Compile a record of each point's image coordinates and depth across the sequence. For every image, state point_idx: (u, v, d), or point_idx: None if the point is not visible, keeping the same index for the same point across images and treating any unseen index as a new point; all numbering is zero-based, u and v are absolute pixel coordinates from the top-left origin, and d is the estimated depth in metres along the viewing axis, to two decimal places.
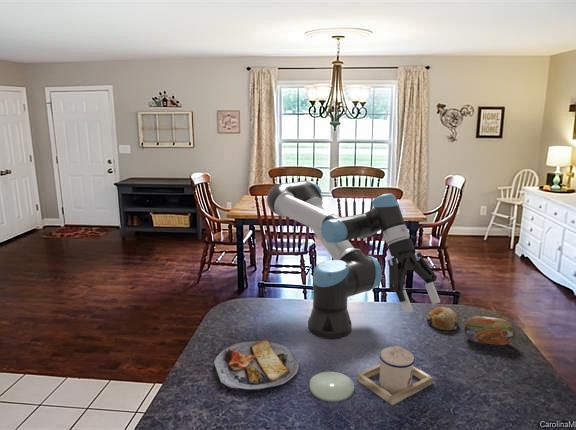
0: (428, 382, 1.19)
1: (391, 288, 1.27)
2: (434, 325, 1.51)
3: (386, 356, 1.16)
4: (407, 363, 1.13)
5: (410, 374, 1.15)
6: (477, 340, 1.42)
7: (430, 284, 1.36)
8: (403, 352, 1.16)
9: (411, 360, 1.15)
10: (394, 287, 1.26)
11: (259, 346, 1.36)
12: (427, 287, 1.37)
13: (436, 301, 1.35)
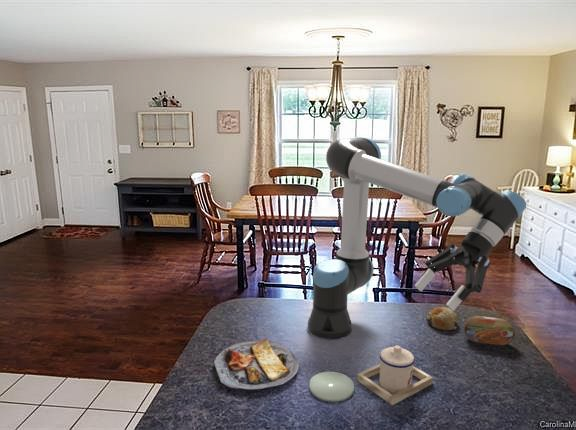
0: (428, 382, 1.19)
1: (477, 288, 1.10)
2: (434, 325, 1.51)
3: (386, 356, 1.16)
4: (407, 363, 1.13)
5: (410, 374, 1.15)
6: (477, 340, 1.42)
7: (433, 274, 1.25)
8: (403, 352, 1.16)
9: (411, 360, 1.15)
10: (479, 290, 1.10)
11: (259, 346, 1.36)
12: (429, 273, 1.25)
13: (420, 288, 1.25)
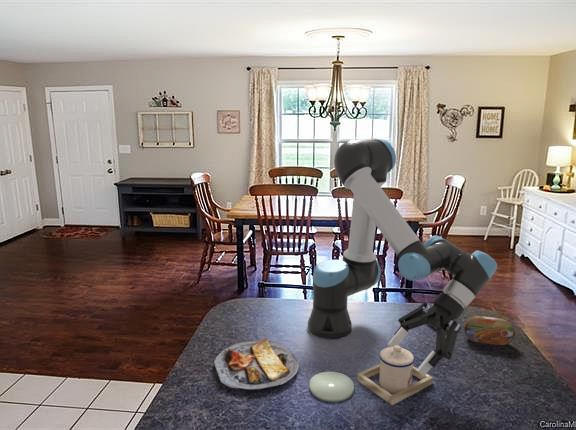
0: (428, 382, 1.19)
1: (447, 355, 1.10)
2: None
3: (386, 356, 1.16)
4: (407, 363, 1.14)
5: (410, 374, 1.15)
6: (477, 340, 1.42)
7: (405, 333, 1.25)
8: (403, 352, 1.16)
9: (411, 360, 1.15)
10: (449, 357, 1.10)
11: (259, 346, 1.36)
12: (402, 332, 1.25)
13: None
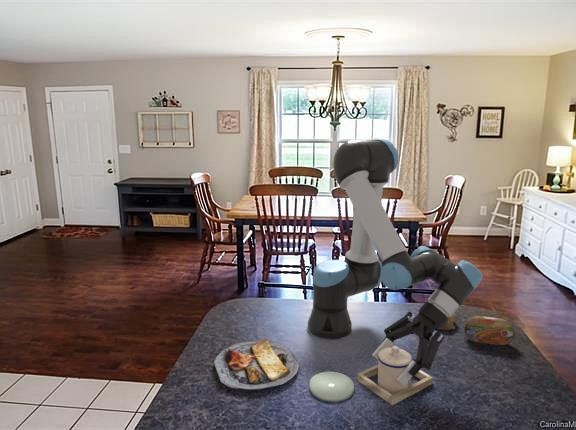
0: (428, 382, 1.19)
1: (426, 365, 1.10)
2: None
3: (386, 358, 1.15)
4: (407, 362, 1.14)
5: None
6: (477, 340, 1.42)
7: (390, 343, 1.25)
8: (401, 352, 1.16)
9: (410, 359, 1.15)
10: (429, 368, 1.11)
11: (259, 346, 1.36)
12: (387, 343, 1.24)
13: None
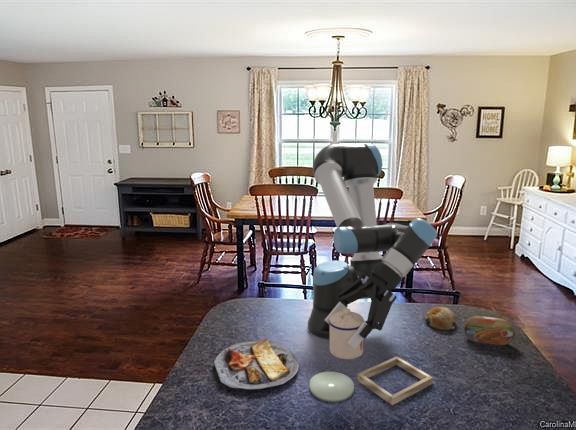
0: (428, 382, 1.19)
1: (377, 326, 1.05)
2: (432, 325, 1.51)
3: (336, 321, 1.09)
4: (358, 324, 1.08)
5: None
6: (477, 340, 1.42)
7: None
8: (352, 314, 1.10)
9: (362, 321, 1.09)
10: (380, 328, 1.05)
11: (259, 346, 1.36)
12: (340, 307, 1.18)
13: None
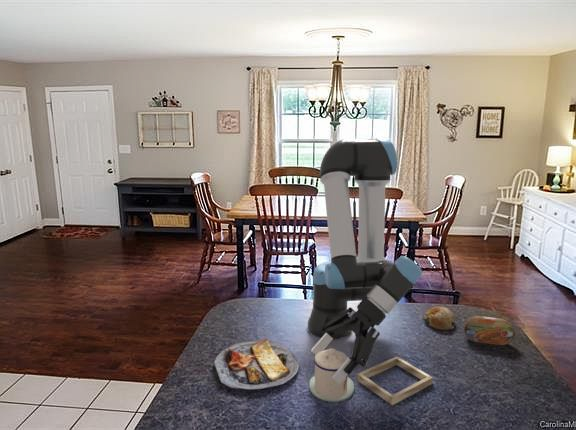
0: (428, 382, 1.19)
1: (361, 362, 1.07)
2: (431, 325, 1.51)
3: (321, 360, 1.12)
4: None
5: None
6: (477, 340, 1.42)
7: (330, 339, 1.22)
8: (337, 354, 1.13)
9: None
10: (364, 365, 1.07)
11: (259, 346, 1.36)
12: (326, 338, 1.22)
13: (317, 353, 1.22)
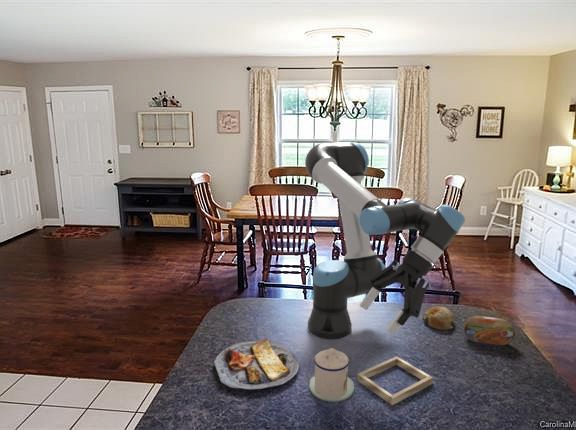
0: (428, 382, 1.19)
1: (414, 313, 1.10)
2: (430, 324, 1.51)
3: (321, 360, 1.12)
4: (342, 365, 1.11)
5: (345, 376, 1.12)
6: (477, 340, 1.42)
7: (377, 292, 1.25)
8: (337, 354, 1.13)
9: (346, 362, 1.12)
10: (417, 315, 1.10)
11: (259, 346, 1.36)
12: (373, 292, 1.24)
13: (366, 307, 1.25)
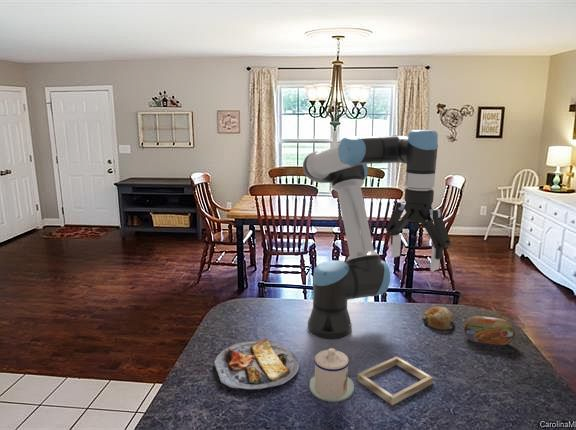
0: (428, 382, 1.19)
1: (446, 245, 1.12)
2: (430, 324, 1.51)
3: (321, 360, 1.12)
4: (342, 365, 1.11)
5: (345, 376, 1.12)
6: (477, 340, 1.42)
7: (399, 236, 1.26)
8: (337, 354, 1.13)
9: (346, 362, 1.12)
10: (449, 244, 1.13)
11: (259, 346, 1.36)
12: (396, 239, 1.26)
13: (398, 254, 1.27)
